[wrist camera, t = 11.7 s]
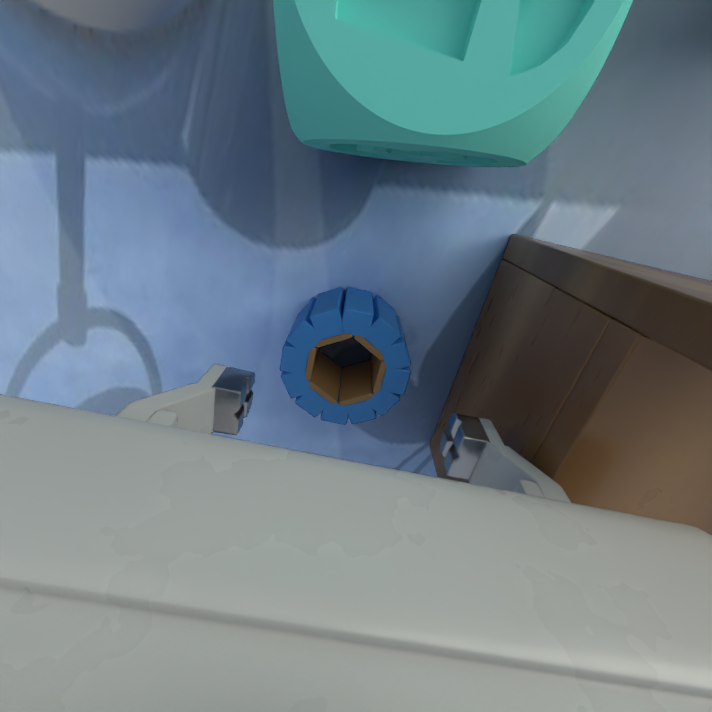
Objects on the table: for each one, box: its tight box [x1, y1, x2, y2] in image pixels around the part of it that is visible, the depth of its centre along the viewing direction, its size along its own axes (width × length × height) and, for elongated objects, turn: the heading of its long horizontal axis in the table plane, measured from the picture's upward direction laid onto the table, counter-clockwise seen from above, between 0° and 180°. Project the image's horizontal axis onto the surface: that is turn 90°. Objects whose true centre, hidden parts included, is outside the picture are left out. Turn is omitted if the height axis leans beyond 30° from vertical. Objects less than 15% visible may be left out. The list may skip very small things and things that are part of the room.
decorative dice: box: [273, 0, 633, 167], centre depth 11 cm, size 8×8×8 cm
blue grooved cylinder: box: [280, 287, 411, 425], centre depth 18 cm, size 6×6×4 cm
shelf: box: [430, 234, 712, 535], centre depth 15 cm, size 15×13×13 cm
